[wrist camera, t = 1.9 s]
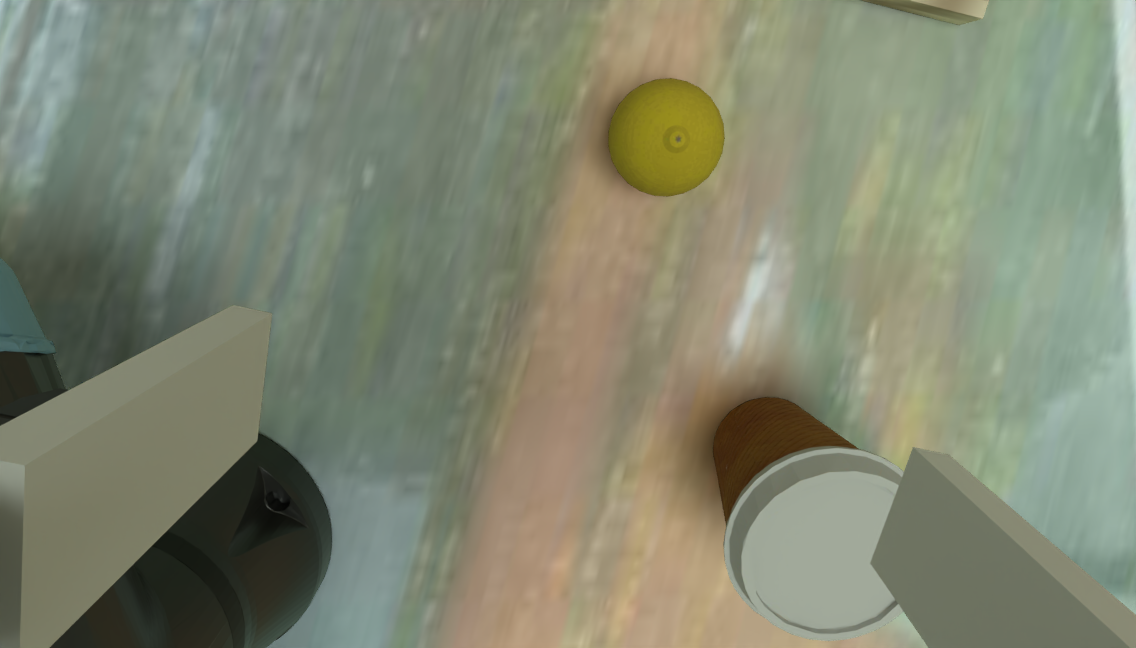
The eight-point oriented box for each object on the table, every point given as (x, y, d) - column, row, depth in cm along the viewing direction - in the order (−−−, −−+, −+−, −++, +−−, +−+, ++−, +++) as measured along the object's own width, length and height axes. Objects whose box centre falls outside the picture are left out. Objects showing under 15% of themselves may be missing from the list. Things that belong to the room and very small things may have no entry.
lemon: (701, 192, 40) (734, 206, 32) (600, 186, 40) (609, 200, 32) (711, 86, 38) (748, 75, 31) (607, 80, 38) (618, 68, 31)
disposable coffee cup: (722, 349, 42) (782, 432, 31) (870, 400, 43) (982, 499, 32) (662, 489, 45) (697, 615, 33) (804, 535, 45) (887, 673, 34)
